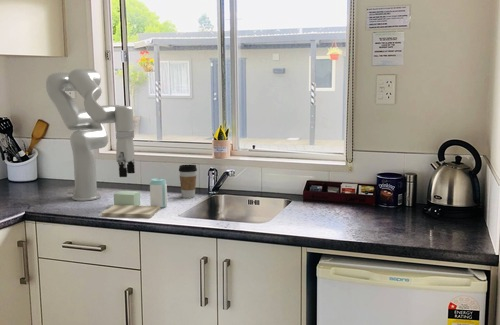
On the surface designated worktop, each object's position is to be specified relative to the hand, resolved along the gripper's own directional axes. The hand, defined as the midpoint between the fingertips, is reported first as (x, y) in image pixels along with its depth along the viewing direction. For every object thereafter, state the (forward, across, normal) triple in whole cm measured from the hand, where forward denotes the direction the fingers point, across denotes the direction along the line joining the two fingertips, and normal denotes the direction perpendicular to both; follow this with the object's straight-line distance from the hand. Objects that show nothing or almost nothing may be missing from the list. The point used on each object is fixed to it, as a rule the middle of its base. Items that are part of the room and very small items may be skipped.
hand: (127, 175), depth 234 cm
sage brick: (+14, 0, -1) cm, 14 cm away
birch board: (+14, +12, +5) cm, 19 cm away
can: (+14, 0, +13) cm, 19 cm away
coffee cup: (+14, -22, +21) cm, 33 cm away
